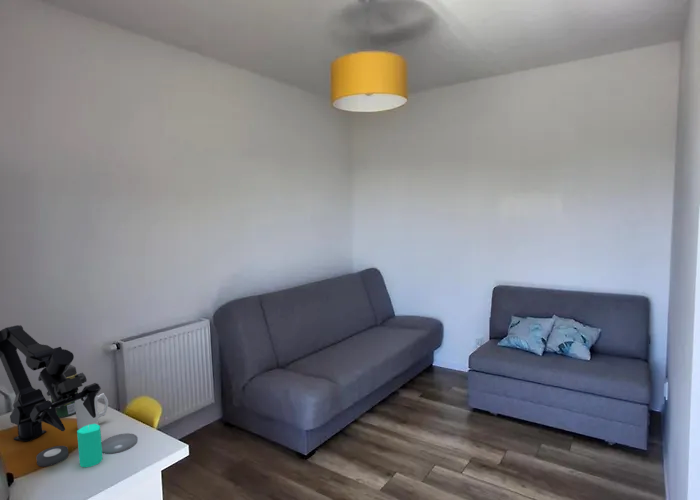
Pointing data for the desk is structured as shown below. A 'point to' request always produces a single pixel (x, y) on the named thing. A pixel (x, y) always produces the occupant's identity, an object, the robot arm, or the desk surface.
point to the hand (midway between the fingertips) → (79, 423)
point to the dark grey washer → (52, 456)
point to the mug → (84, 415)
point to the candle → (89, 445)
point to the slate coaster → (118, 443)
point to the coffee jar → (70, 407)
